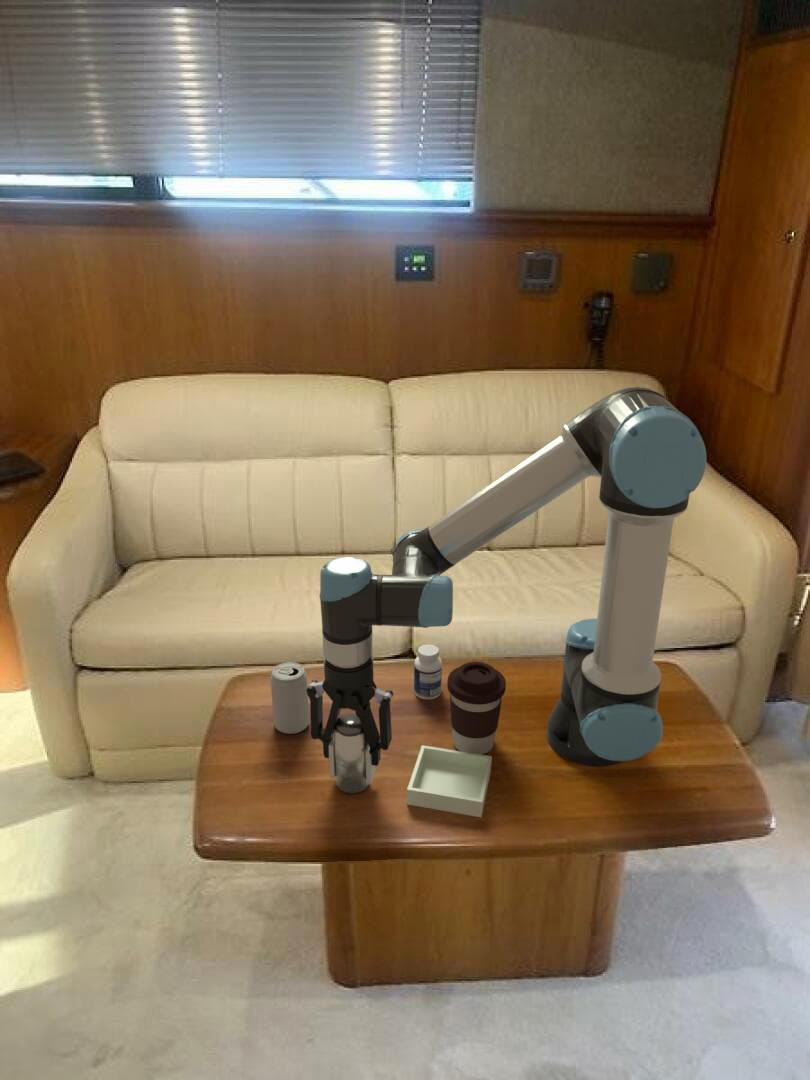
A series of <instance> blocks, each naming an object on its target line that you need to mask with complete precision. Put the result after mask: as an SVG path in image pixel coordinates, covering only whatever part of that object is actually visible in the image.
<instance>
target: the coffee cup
mask: <svg viewBox="0 0 810 1080" xmlns="http://www.w3.org/2000/svg"><path fill="white" fill-rule="evenodd" d="M446 683H447V690H448V692H449V707H450V710H449V711H450V724H451V727H452V743H453V745H454V747H455V748H456V750H457V751H461V752H467V753H474V754H480V755H486V753H488V752H490V751H491V750H492V749H493V747H494V745H495V740H496V739H495V737H496V732H497V729H498V727H499V721H500V714H501V708H502V697H503V696H504V695H505V693H506V684H507V681H506V678H505V676H504V675H503V674H502V673H501V672H500V671H499V670H497V669H496V668H495V667H493V666H492V665H491V664H488V663H486V662H480V661H470V662H466V663H463V664H462V665H460V666H458V667H456V668H454V669H453V670H451V671H450V673H449V674H448V675H447V682H446Z"/></svg>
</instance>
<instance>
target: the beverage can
mask: <svg viewBox="0 0 810 1080" xmlns="http://www.w3.org/2000/svg"><path fill="white" fill-rule="evenodd" d="M270 687H271V688H270V689H271V701H272V713H273V724H274V728H275V729H276V730H277V731H278V732H281V733H283V734H286V735H287V734H288V735H294V734H298V733H301V732H302V731H304V730H305V729H306V728H308V726H309V724H310V709H309V706H310V705H309V704H310V703H309V697H308V694H307V691H306V690H307V688H308V687H309V686H308V674H307V672H306V671H305V668H304V666H303V665H302V664H301V663H298V662H295V661H294V662H293V661H288V662H283V663H279V664H277V665H276V666H275V667H273V669H272V672H271V675H270Z"/></svg>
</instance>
